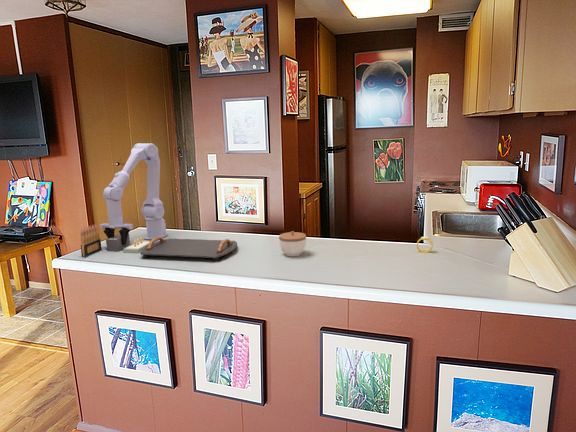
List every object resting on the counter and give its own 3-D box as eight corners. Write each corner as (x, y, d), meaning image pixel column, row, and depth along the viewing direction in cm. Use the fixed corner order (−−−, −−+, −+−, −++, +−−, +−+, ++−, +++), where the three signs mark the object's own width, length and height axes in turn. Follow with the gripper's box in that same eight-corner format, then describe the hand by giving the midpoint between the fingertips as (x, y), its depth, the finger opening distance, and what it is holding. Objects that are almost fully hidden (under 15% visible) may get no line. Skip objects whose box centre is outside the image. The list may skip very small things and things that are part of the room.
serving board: (133, 260, 182) (131, 245, 181) (162, 244, 204) (161, 230, 203) (223, 264, 173) (222, 248, 172) (243, 247, 195) (243, 233, 193)
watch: (416, 253, 178) (415, 238, 177) (417, 251, 181) (416, 236, 180) (432, 253, 176) (432, 238, 175) (432, 251, 179) (432, 236, 178)
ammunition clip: (85, 257, 186) (81, 229, 184) (81, 257, 187) (77, 228, 184) (102, 250, 196) (98, 223, 194) (98, 249, 197) (94, 222, 194)
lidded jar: (291, 260, 174) (290, 236, 172) (274, 254, 182) (273, 231, 180) (312, 254, 180) (311, 231, 178) (294, 248, 188) (294, 226, 186)
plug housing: (120, 244, 204) (118, 233, 203) (130, 244, 203) (129, 233, 202) (107, 250, 194) (105, 239, 193) (117, 251, 193) (116, 239, 192)
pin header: (139, 244, 204) (138, 234, 203) (153, 244, 202) (152, 234, 201) (123, 252, 191) (122, 242, 190) (138, 253, 190) (137, 242, 189)
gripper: (94, 216, 193) (98, 246, 196) (125, 216, 190) (128, 247, 193) (104, 212, 200) (107, 242, 203) (134, 213, 197) (137, 243, 200)
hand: (118, 244), depth 198 cm, fingers closed on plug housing, 5 cm apart
